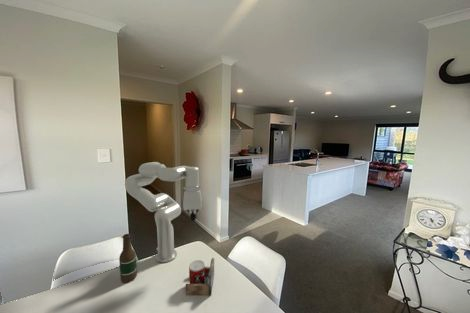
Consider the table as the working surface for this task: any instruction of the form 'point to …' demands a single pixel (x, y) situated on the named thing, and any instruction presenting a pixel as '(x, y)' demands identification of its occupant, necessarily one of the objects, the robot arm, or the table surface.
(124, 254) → the beer bottle
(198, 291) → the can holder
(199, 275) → the canned food
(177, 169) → the robot arm
